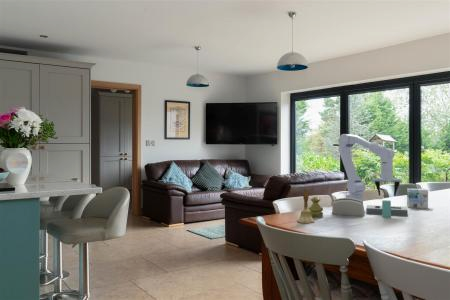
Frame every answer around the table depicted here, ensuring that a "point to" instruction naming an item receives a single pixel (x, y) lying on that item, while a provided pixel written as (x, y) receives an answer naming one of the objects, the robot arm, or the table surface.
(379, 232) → the table surface
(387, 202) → the square peg
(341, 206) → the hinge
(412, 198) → the light bulb box
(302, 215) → the hand bell
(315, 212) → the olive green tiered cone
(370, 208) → the bore plate
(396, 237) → the table surface
